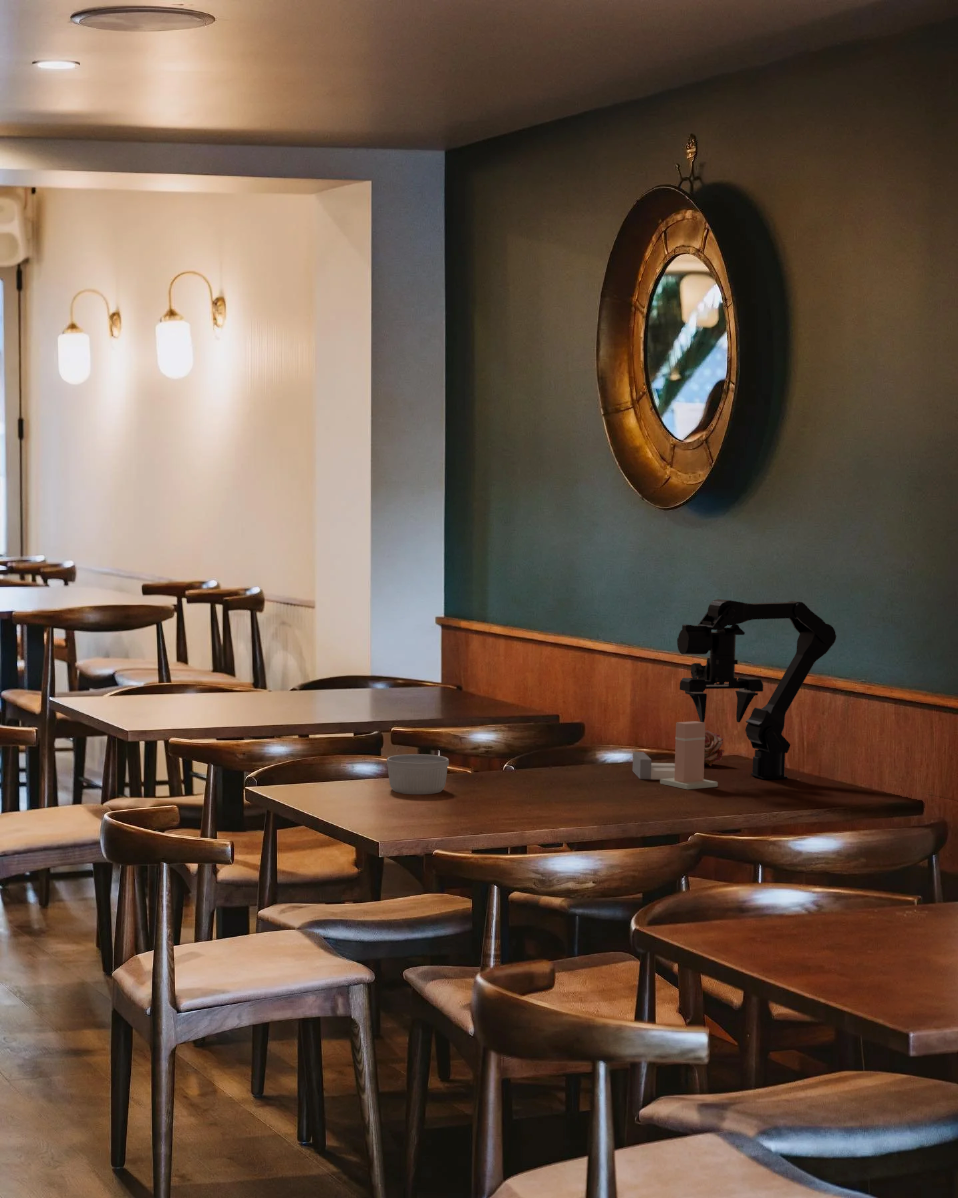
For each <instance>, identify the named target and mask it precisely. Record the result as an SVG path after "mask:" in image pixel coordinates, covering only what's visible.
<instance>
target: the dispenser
mask: <svg viewBox="0 0 958 1198" xmlns="http://www.w3.org/2000/svg"><path fill="white" fill-rule="evenodd" d="M632 772H633V773H634V774H635V776H636V777H638V779H639V780H660V779H667V778H674V776H675V762H652V758H650V757H649V755H648V754H647V753H645V752H643V751H633V752H632Z"/></svg>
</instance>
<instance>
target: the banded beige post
mask: <svg viewBox="0 0 958 1198" xmlns="http://www.w3.org/2000/svg"><path fill="white" fill-rule="evenodd" d="M705 731H706V722H705V721H704V722H700V721H697V720H696V721H695V720H694V721H678V722H676V723H675V736H674V737H675V745H674V746H675V748H674V749H675V750H674V751H675V753H674V763H675V776H674V781H679V782H683V783H684V782H694V781H704V779H705V778H704V776H705V763H704V748H705Z"/></svg>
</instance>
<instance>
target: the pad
mask: <svg viewBox="0 0 958 1198" xmlns="http://www.w3.org/2000/svg"><path fill="white" fill-rule="evenodd" d="M659 783H660V785H665V786H670V787H674V788H679V789H684V790H696V789H706V788H716V787H718V785H719V782H718V781H715V780H709V779H705V778H704V781H694V782H684V783H683V782H679V781H674V778H667V779H659Z"/></svg>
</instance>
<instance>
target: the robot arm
mask: <svg viewBox="0 0 958 1198" xmlns="http://www.w3.org/2000/svg"><path fill="white" fill-rule="evenodd" d="M777 619H778V620H779V619H789V620H790V622H791V625H792V626H793V628H794V629H795V631H796V632H797V633H798V634H799V635H798V638H797V641H796V652H795V655H794V656H793V658H792V660H791V661H790V664H789V665H788V666H787V668H786V670H785V672H784V674H783V675H782V677H781V679H780V680H779V682H778V683H777V686H776V688H775V689H774V692H773V693H772V695H771V696H770V698H769V700H768V701H767V704H766V705H765V706H763V707H762V708H759V707H754V708H753V710H752V712H751V714H750V716H749V718H748V719H746V721H745V723H746V726H745V734H746V737H747V739H748V740H749V741H750V745H751V746H752V749H753V750H754V756H752V772H750V776H752V777H753V776H754V777H756V778H759V779H762V780H773V779H774V780H775V779H777V780H778V779H788V778H789V776H788V775H785V766H786V763H785V761H786V754H787V753H788V752H789V750H790V747H791V743H790V742H789V741H788V740H787V738H785V737H784V736H783V731H784V729H785V721H786V714H787V712H788V710H789V708H790V707H791V705H792V703H793V702H794V700H795V698H796V696H797V694H798V693H799V691H800V689H801V687H802V686H803V683H804V682H805V680H806V679H807V677H808V675H809V674H810V671H811V669H812V668H813V666H814V664H815V663H816V662H817V661H818V660H819V659H820V658H822V657H824V656H825V655H826V654H827V653H828V652H829V651H830V649H831V647H833V646H834V644H835V642H836V640H837V635H836V630H835V628H834V627H833V625H831V624H829V623H826V622H825V620H824V619H822V618H821V617H820V616H818V615H817V614H816V613H814V612H813V611H812V610H811V609H810V608H809V607H808V606H807V604H805V603H804V602H802V601H795V600H790V601H787V602H786V601H785V602H782V601H780V602H779V601H778V602H753V603H752V602H751V603H750V602H749V603H748V602H743V601H742V602H741V601H736V600H728V599H719V598H717V599H714V600H712V601H711V602H710V604H709V605H708V608H707V612H706V613H705V614H704V616H703V617H702V619H701V620H700V621H699V623H698V624H697V625H694V624H682V627H681V630H680V632H679V633H678V637H677V639H676V640H677V641H676V644H677V650H678V652H679V654H681V655H707V654H708V652H709V657H707V658H706V664H705V665H702V663H701V662H696V663H695V662H694V663H691V667H690V676H691V677H682V678H681V680H680V682H679V690H680V691H683V692H684V693H685V694H686V695H689V697H690V698H691V700H692V701H693V704H694V706H695V709H696V712H697V716H698V718H699V722H704V723H705V719H706V710H707V709H706V708H707V699H708V698H707V697H708V693H706V692H704V691H706V690H712V689H713V690H717V689H718V690H720V689H721V690H727V689H728V690H733V689H737V690H734V691H735V694H736V698H737V699H736V715H735V716H736V717H735V718H736V722H737V723H741V721H742V719H743V717H744V715H745V713H746V712H747V709H748V707H749V705H750V704H751V702H752V700H753V699H754V698H755V696H758V695H759V693H758V692H762V693H763V691H764V682H763V680H762V679H761V678H756V677H751V676H750V677H736V676H735V674H736V673H735V669H736V665H738V664H739V663H738V662H739V661H738V659H736V643H737V642H736V641H737V640H736V637H737V636H744V635H746V634H745V633H746V632H745V631H744V630H743V629H742V628H741V626H740V625H739V624H743V623H746V622H748V621H753V620H777Z"/></svg>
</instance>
